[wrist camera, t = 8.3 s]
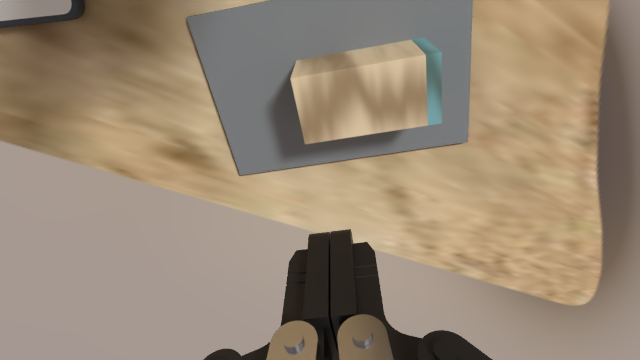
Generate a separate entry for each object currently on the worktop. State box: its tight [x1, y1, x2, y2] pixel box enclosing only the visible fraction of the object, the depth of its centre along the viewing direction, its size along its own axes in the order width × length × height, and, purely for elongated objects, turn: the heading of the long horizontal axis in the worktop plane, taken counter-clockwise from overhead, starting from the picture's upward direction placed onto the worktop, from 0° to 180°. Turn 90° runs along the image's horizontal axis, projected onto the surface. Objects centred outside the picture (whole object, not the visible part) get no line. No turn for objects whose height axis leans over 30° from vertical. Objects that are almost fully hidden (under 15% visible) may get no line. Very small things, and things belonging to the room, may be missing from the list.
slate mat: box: [186, 0, 473, 175], centre depth 30 cm, size 14×21×1 cm, turn 100°
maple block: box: [290, 37, 442, 144], centre depth 27 cm, size 5×5×10 cm
